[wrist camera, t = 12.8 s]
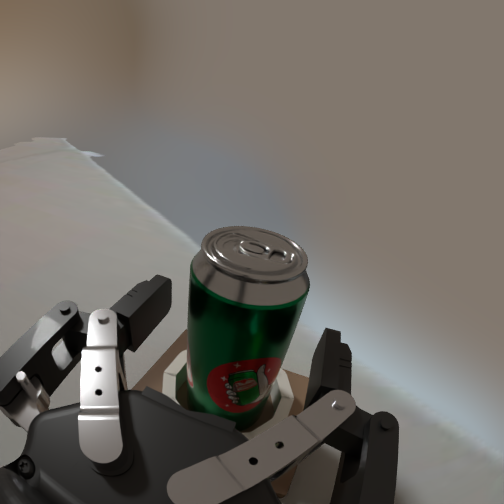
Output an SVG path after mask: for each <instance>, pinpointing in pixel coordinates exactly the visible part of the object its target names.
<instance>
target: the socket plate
mask: <svg viewBox="0 0 504 504" xmlns="http://www.w3.org/2000/svg"><path fill="white" fill-rule="evenodd" d="M308 382H309V378H308V377H305V376H302V375H299V374H296V373H293V372H290V371H287V370H284V369H282V368H280V371H279V373H278V376H277V378H276V381H275V383H274V386H273V388H272V390H271V393H270V395H269V397H268V400H267V402H266V405H265V407H264V409H263V411H262V414H261V416H260V418H259V419H258V420H257V422H256V423H255V424H253V425H252V426H251V427H249V428H248V429H246V430H243V431H240V432H241V433H242V434H243V435H244V436H245V437H247V438H248V440H250V439H252V438H254V437H256V436H257V435H259V434H261V433H263V432H264V431H266V430H268V429H269V428H271V427H273V426H274V425H276V424H277V423H279V422H281V421H282V420H284V419H285V418H287V417H289V416H291V415H295V416H296V415H298V414H299V413H301V412H302V411H303V409H304V404H305V399H306V393H307V388H308ZM146 386H148V387H150V388H152V389H154V390H156V391H158V392H160V393H163V394H165V395H167V396H168V397H170V398H171V399H172V400H173V401H175V402H176V403H178V404H179V405H180V406H182V407H183V408H184V409H186V410H189V409H188V405H187V329H186V330H185V331H184V332H183V333H182V334H181V335H180V337H179V338H178V339H177V340H176V341H175V342H174V343H173V344H172V345H171V346H170V348H169V349H168V350H167V351H166V352H165V353H164V354H163V355H162V356H161V357H160V359H159V360H158V361H157V362H156V363H155V364H154V365H153V366H152V367H151V368H150V370H149V371H148V372H147V373H146V374H145V375H144V376H143V377H142V378H141V379H140V381H139V382H138V383H137V384H136V385H135V386H134V387H133V388H132V389H131V390H140V391H143V390H144V389H145V387H146ZM297 465H298V464H297ZM297 465H296V466H295V467H293V468H292V469H291V470H290V471H288V472H287V473H285V474H284V475H283V476H281V477H280V478H278V479H277V480H275V481H274V482H272V483H271V484H272V487H273V489H274V491H275V493H276V495H277V497H280V498H283V497H284V496H286V494H287V492H288V489H289V487H290V484H291V481H292V479H293V476H294V473H295V470H296V467H297Z"/></svg>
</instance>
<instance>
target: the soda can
mask: <svg viewBox="0 0 504 504" xmlns="http://www.w3.org/2000/svg"><path fill="white" fill-rule="evenodd" d="M307 264H308V259H307V255H306V253H305V252H304V250H303V249H302V248H301V247H300V246H299V245H298V244H296V243H295V242H294V241H292V240H290V239H289V238H287V237H285V236H283V235H280V234H278V233H275V232H272V231H268V230H264V229H260V228H255V227H245V226H231V227H223V228H219V229H216V230H213V231H211V232H210V233H208V234H207V235H206V236H205V237H204V239H203V240H202V243H201V250H200V251H199V252H198V253H197V254H196V255H195V256H194V258H193V260H192V262H191V265H190V279H189V298H188V324H187V405H188V409H189V411H195V412H201V413H207V414H213V415H216V416H219V417H222V418H224V419H227V420H230V421H233V422H236V425H235V429H236V430H238V431H239V432H240V431H243V430H246V429H248V428H249V427H251V426H252V425H253V424H255V423H256V422H257V420H258V419H259V418H260V416H261V414H262V411H263V409H264V407H265V405H266V402H267V400H268V397H269V395H270V393H271V390H272V388H273V386H274V383H275V381H276V378H277V376H278V373H279V371H280V368H281V366H282V363H283V361H284V358H285V355H286V353H287V350H288V348H289V345H290V342H291V340H292V337H293V334H294V332H295V329H296V326H297V323H298V321H299V318H300V315H301V312H302V309H303V306H304V304H305V301H306V298H307V295H308V292H309V288H310V281H309V277H308V275H307V272H306V268H307Z"/></svg>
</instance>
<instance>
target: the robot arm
mask: <svg viewBox="0 0 504 504" xmlns="http://www.w3.org/2000/svg"><path fill="white" fill-rule="evenodd" d="M171 303H172V281H171V279H169V278H166V277H163V276H161V275H156V276H155V277H153V278H152V279H151V280H150V281H147V280H146V281H143V282H141V283H139V284H137V285H136V286H135V287H134V288H132V290H130V291H129V292H128V293H127V295H124V296H123V297H122V298H121V299H120V300H119V301H118V302H117V303H115V304H114V305H113V306H112V307H111V308H110V309H104V308H103V309H98V310H96V311H94V312H93V313H92V314H89V313H85V312H80V311H78V307H77V305H76V304H75V303H74V302H72V301H62V302H60V303H58V304H57V305H55V306H54V307H53V308H52V309H51V310H50V311H49V312H47V313H46V314H45V315H44V316H43V317H42V318H41V319H40V320H39V321H37V322H36V323H35V324H34V325H33V326H32V327H31V328H30V329H29V330H28V331H27V332H26V333H25V334H24V335H22V336H21V337H20V338H19V339H18V340H17V341H16V342H15V343H14V344H13V345H12V346H11V347H10V348H9V349H8V350H7V351H6V352H5V353H4V354H3V355H2V356H1V357H0V410H1V411H2V412H3V414H4V415H5V416H6V417H8V418H9V419H10V420H11V421H12V422H13V424H15V425H16V426H18V427H22V428H23V429H24V430H25V431H26V432H27V433H28V434H27V440H26V444H25V447H24V450H23V452H22V454H21V456H20V457H19V458H18V459H17V460H15V461H14V462H12V463H10V464H8V465H6V466H3V467H1V468H0V504H281V503H280V501H279V499H278V497H277V495H276V493H275V491H274V489H273V487H272V484H271V483H272V482H274V481H275V480H277V479H278V478H280V477H281V476H283V475H284V474H285V473H287V472H288V471H290V470H291V469H292V468H293V467H295V466H296V465H297V464H298V463H300V462H301V461H302V460H304V459H305V458H306V457H308V456H309V455H310V454H312V453H313V452H314V451H316V450H317V449H318V448H319V447H321V446H322V445H323V444H324V443H326V444H328V445H330V446H332V447H334V448H336V449H338V450H340V451H342V452H341V458H340V463H339V468H338V472H337V477H336V481H335V486H334V490H333V494H332V498H331V502H330V504H394V496H395V487H396V477H397V464H398V444H399V424H398V421H397V419H396V418H395V417H394V416H393V415H392V414H390V413H388V412H383V411H382V412H377V413H375V414H374V415H371V414H369V413H367V412H365V411H363V410H361V409H360V408H358V407H357V406H356V403H355V400H354V398H353V397H352V396H351V368H352V363H351V361H352V353H351V350H350V348H349V346H348V345H347V344H345V343H341V333H340V331H336V330H332V329H328V328H325V330H324V332H323V334H322V337H321V339H320V341H319V343H318V345H317V348H316V350H315V352H314V355H313V359H312V364H311V370H310V376H309V382H308V388H307V393H306V399H305V404H304V409H303V411H302V412H301V413H299V414H298V415H296V416H295V415H291V416H289V417H287V418H285V419H284V420H282V421H281V422H279V423H277V424H276V425H274V426H273V427H271V428H269V429H268V430H266V431H264V432H263V433H261V434H259V435H257V436H256V437H254V438H252V439H250V440H248V438H247V437H245V436H244V435H243V434H242V433H241V432H239V431H238V430H236V429H235V425H236V422H233V421H230V420H227V419H224V418H222V417H219V416H216V415H213V414H207V413H201V412H195V411H189V410H186V409H184V408H183V407H182V406H180V405H179V404H178V403H176V402H175V401H173V400H172V399H171V398H170V397H168V396H167V395H165V394H163V393H160V392H158V391H156V390H154V389H152V388H150V387H148V386H146V387H145V389H144V390H143V391H140V390H128V388H127V382H126V371H125V358H124V352H125V351H126V349H129V350H131V351H133V352H135V351H136V350H137V349H138V348H139V346H140V345H141V344H142V343H143V342H144V340H145V339H146V338H147V337H148V336H149V335H150V333H151V332H152V331H153V330H154V329H155V328H156V326H157V325H158V324H159V323H160V322H161V321H162V319H163V318H164V317H165V316H166V315H167V313H168V312H169V310H170V308H171ZM61 338H62V339H63V340H62V342H61V343H60V344H59V345H58V346H57V347H56V348H55V349H54V350H53V351H52V348H53V346H54V345H55V344H56V343H57V342H58V341H59V340H60V339H61ZM81 358H82V363H81V395H80V402H79V403H75V404H71V405H67V406H63V407H59V408H55V409H50V410H49V408H48V407H49V404H50V398H49V397H50V396H51V395H52V394H53V392H54V391H55V390H56V389H57V387H58V386H59V385H60V384H61V382H62V381H63V380H64V379H65V378H66V376H67V375H68V374H69V373H70V371H71V370H72V369H73V368H74V367H75V366H76V364H77V363H78V362H79V361H80V360H81Z"/></svg>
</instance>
